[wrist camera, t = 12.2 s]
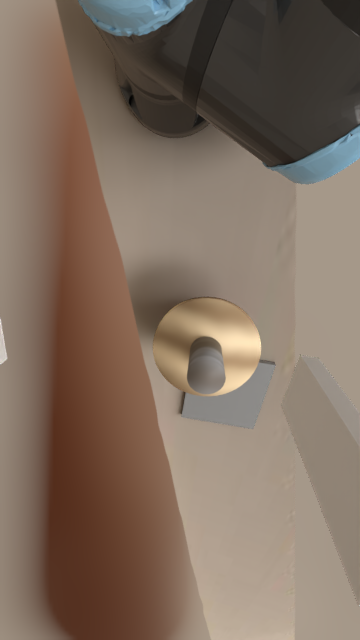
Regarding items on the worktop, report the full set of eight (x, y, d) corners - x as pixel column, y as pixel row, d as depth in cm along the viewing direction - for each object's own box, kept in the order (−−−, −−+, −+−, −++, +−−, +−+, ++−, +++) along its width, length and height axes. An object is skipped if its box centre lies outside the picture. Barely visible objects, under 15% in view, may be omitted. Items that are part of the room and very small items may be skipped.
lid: (160, 288, 35) (148, 304, 27) (272, 307, 34) (291, 328, 27) (148, 382, 40) (135, 418, 32) (245, 400, 39) (255, 440, 32)
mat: (193, 349, 51) (193, 351, 50) (274, 362, 51) (275, 365, 50) (181, 413, 58) (181, 417, 57) (252, 425, 58) (253, 429, 57)
